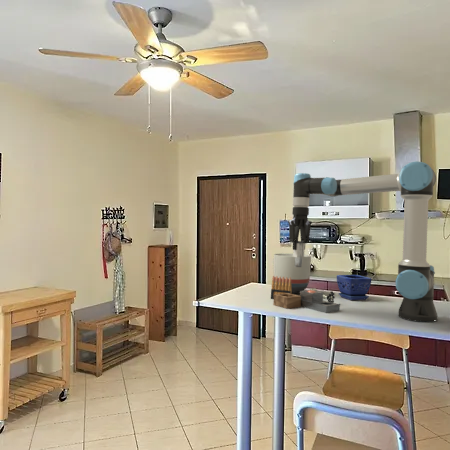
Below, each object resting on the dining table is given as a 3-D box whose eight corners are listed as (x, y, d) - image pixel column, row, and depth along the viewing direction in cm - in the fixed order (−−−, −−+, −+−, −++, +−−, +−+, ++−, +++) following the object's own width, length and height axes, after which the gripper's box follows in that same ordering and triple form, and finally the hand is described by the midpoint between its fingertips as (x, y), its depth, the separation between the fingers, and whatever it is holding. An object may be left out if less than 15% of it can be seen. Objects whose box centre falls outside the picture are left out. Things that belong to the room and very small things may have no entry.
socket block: (339, 310, 184) (340, 295, 183) (326, 312, 178) (326, 297, 178) (309, 303, 198) (310, 289, 198) (296, 305, 193) (297, 290, 193)
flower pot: (355, 295, 223) (356, 274, 223) (371, 300, 210) (372, 277, 210) (335, 296, 219) (335, 274, 219) (350, 301, 206) (350, 278, 206)
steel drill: (303, 267, 189) (304, 241, 189) (298, 267, 187) (299, 241, 187) (298, 266, 192) (299, 240, 192) (292, 266, 190) (294, 240, 190)
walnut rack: (300, 306, 190) (300, 296, 190) (286, 308, 185) (287, 297, 185) (287, 303, 198) (287, 292, 198) (273, 305, 192) (273, 294, 192)
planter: (308, 297, 213) (309, 257, 213) (269, 295, 219) (270, 255, 218) (311, 291, 232) (312, 254, 232) (275, 289, 238) (276, 252, 238)
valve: (306, 302, 201) (329, 306, 194) (306, 289, 201) (330, 292, 194) (311, 300, 206) (334, 304, 199) (312, 287, 206) (335, 290, 199)
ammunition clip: (291, 300, 205) (292, 276, 205) (290, 301, 203) (291, 277, 203) (271, 298, 209) (272, 275, 209) (270, 298, 208) (271, 275, 207)
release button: (316, 298, 191) (317, 291, 191) (311, 299, 189) (311, 291, 189) (311, 297, 194) (311, 290, 194) (305, 298, 192) (306, 290, 192)
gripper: (307, 207, 197) (304, 255, 197) (282, 205, 187) (280, 256, 188) (318, 207, 190) (316, 257, 191) (294, 205, 181) (291, 258, 182)
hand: (298, 256), depth 189 cm, fingers closed on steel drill, 3 cm apart
